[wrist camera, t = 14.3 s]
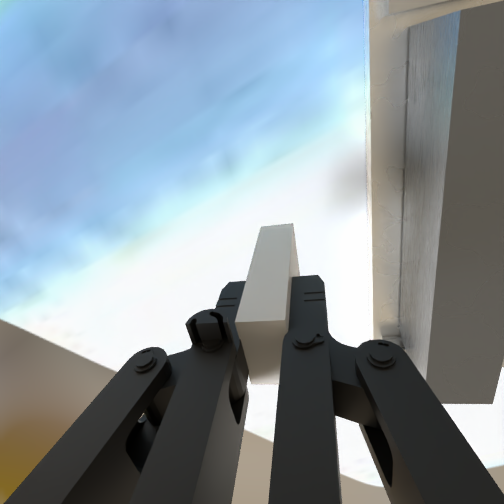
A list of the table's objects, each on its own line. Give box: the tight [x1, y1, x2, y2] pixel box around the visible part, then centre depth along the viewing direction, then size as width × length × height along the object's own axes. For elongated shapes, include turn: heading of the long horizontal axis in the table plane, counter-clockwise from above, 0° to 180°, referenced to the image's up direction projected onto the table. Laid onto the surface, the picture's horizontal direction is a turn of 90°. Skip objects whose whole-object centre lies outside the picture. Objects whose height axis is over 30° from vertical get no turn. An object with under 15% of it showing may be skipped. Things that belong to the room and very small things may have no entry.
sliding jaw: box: [399, 1, 504, 404], centre depth 14 cm, size 16×3×5 cm, turn 11°
